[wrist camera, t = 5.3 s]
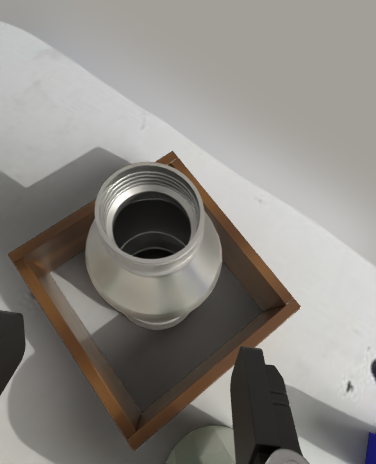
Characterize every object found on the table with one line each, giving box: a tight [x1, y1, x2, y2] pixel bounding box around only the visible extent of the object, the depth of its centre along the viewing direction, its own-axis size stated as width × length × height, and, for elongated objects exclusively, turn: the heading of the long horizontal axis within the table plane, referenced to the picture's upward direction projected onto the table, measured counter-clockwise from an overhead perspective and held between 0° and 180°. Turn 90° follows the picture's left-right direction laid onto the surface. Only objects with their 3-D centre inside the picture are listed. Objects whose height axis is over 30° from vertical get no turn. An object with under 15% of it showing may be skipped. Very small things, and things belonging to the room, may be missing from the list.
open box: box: [8, 151, 301, 451], centre depth 28 cm, size 16×15×6 cm
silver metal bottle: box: [85, 162, 222, 330], centre depth 21 cm, size 6×7×20 cm
